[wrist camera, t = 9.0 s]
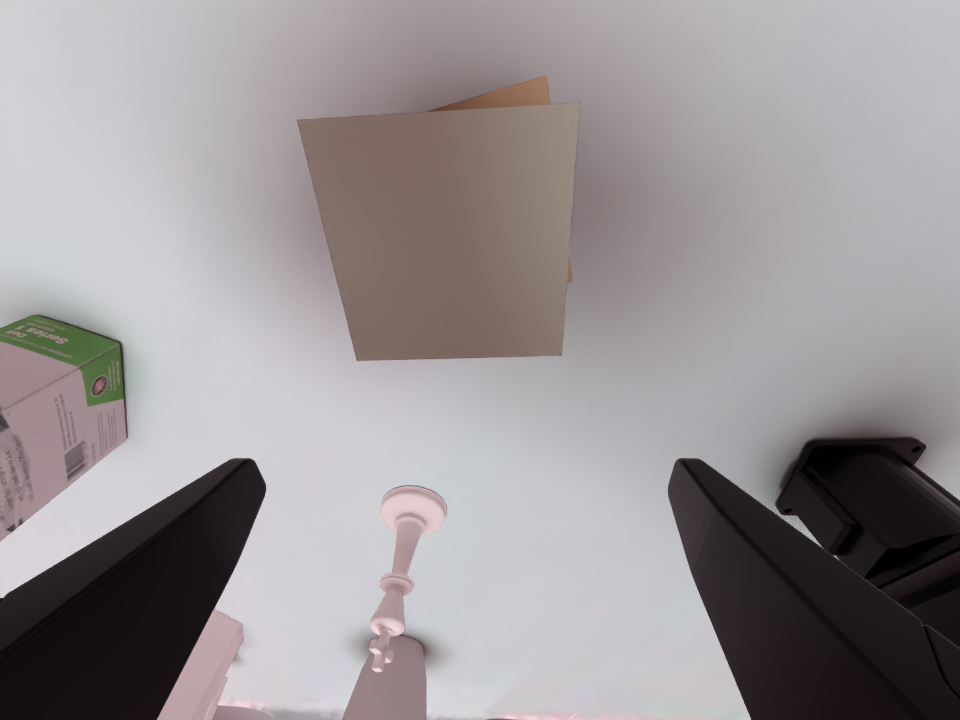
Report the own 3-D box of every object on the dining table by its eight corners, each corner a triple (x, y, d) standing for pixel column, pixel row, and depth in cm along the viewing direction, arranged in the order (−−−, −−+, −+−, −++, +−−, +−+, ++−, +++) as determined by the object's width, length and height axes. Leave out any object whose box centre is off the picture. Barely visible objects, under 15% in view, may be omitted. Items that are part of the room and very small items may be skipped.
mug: (144, 605, 37) (40, 741, 29) (223, 603, 36) (139, 742, 28) (204, 660, 43) (132, 786, 35) (273, 659, 42) (217, 789, 34)
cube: (545, 118, 11) (579, 102, 6) (539, 286, 13) (561, 355, 9) (374, 128, 11) (296, 119, 7) (401, 290, 13) (356, 360, 9)
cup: (345, 637, 39) (301, 778, 30) (407, 620, 37) (379, 768, 28) (393, 669, 42) (366, 804, 34) (452, 655, 40) (440, 797, 31)
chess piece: (402, 534, 30) (363, 694, 21) (369, 495, 28) (310, 655, 19) (458, 520, 29) (440, 683, 20) (427, 478, 26) (393, 641, 18)
